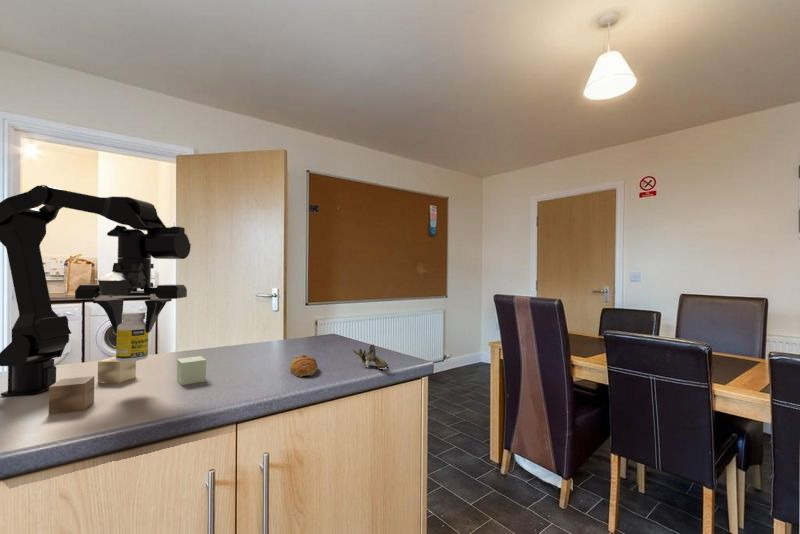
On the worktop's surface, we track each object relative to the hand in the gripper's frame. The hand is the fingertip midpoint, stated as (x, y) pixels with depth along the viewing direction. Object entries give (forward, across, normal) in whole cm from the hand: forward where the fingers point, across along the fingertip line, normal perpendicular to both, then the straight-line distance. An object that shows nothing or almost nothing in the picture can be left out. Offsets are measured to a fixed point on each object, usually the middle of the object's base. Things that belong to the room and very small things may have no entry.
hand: (133, 332), depth 77 cm
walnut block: (+12, -6, -8) cm, 16 cm away
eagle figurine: (+13, +52, +13) cm, 55 cm away
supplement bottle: (+6, 0, 0) cm, 6 cm away
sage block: (+12, +9, +7) cm, 17 cm away
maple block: (+13, -8, +10) cm, 18 cm away
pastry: (+13, +34, +11) cm, 38 cm away
